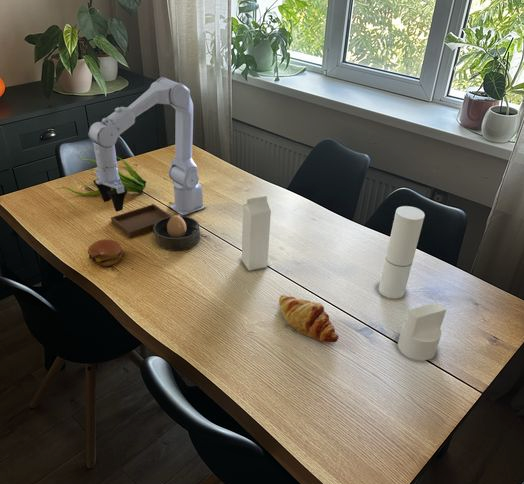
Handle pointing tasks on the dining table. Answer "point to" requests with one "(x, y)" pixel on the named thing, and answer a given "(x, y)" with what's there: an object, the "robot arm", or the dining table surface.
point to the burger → (105, 252)
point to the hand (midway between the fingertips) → (113, 205)
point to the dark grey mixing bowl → (177, 243)
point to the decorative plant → (126, 181)
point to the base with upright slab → (422, 331)
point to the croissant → (308, 318)
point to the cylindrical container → (401, 251)
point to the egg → (176, 227)
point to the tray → (139, 220)
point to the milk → (256, 233)
